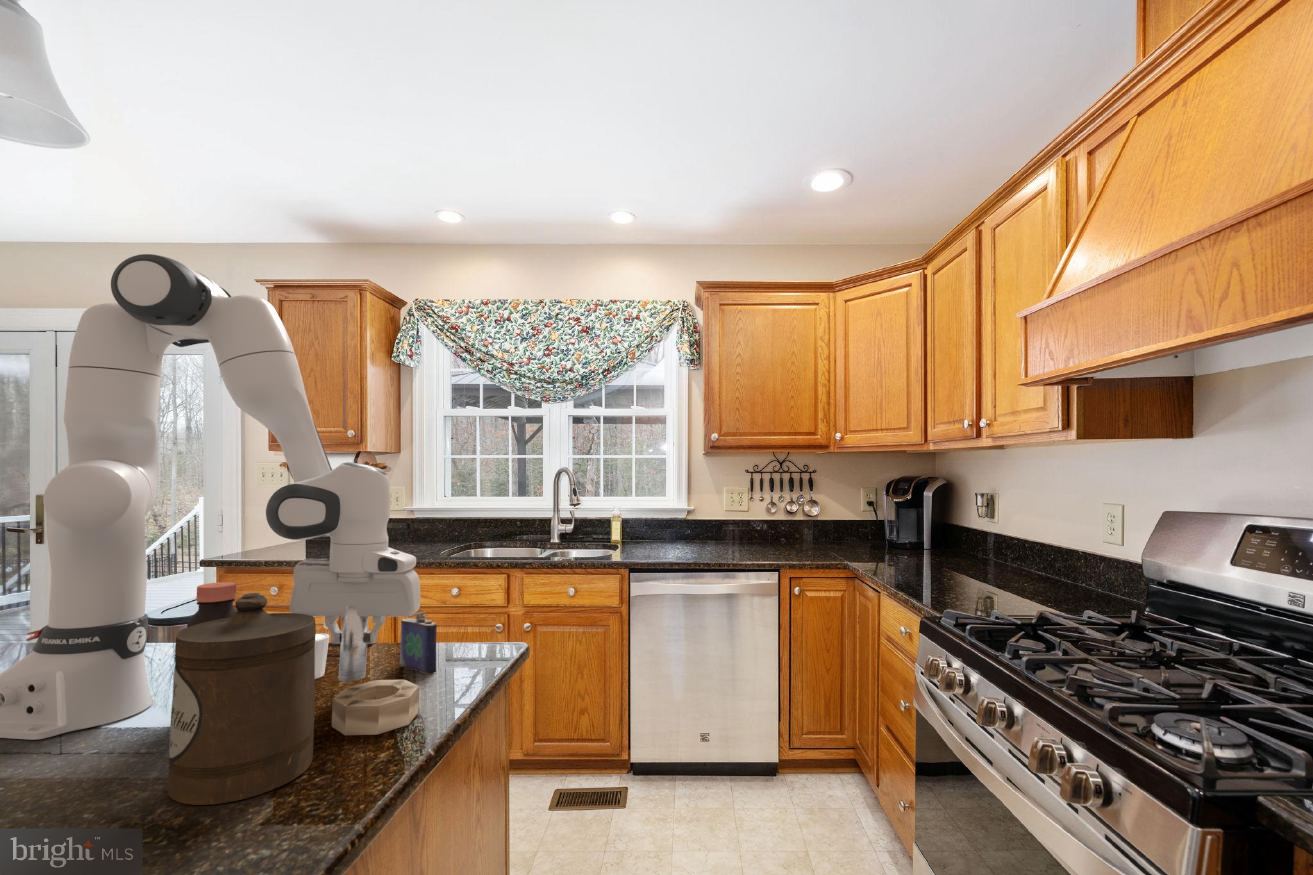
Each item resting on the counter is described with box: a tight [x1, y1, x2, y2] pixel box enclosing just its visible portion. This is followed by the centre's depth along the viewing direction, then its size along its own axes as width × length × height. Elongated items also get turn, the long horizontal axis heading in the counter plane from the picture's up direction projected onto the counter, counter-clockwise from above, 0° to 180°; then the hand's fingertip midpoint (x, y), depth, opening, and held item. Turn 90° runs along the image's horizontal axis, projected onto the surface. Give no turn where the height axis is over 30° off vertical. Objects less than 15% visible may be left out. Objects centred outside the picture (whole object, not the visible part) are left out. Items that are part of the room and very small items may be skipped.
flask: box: [399, 611, 438, 675], centre depth 116 cm, size 9×3×11 cm, turn 58°
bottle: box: [186, 581, 238, 628], centre depth 92 cm, size 7×7×20 cm
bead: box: [331, 679, 420, 736], centre depth 92 cm, size 11×11×4 cm
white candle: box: [338, 606, 370, 682], centre depth 101 cm, size 4×4×15 cm
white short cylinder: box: [315, 632, 330, 680], centre depth 111 cm, size 7×7×7 cm
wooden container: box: [167, 592, 317, 806], centre depth 75 cm, size 15×15×22 cm
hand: (354, 642), depth 101 cm, fingers closed on white candle, 4 cm apart
